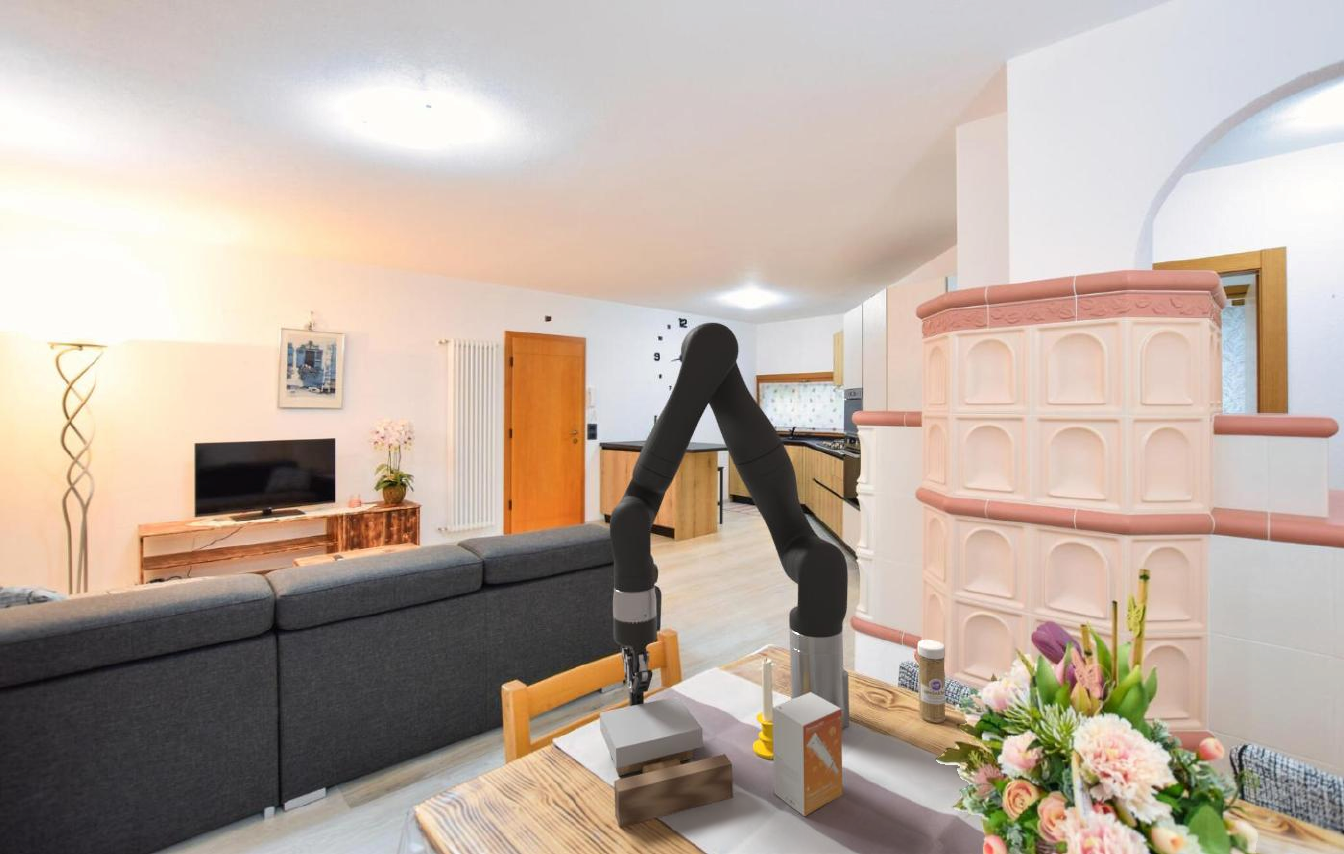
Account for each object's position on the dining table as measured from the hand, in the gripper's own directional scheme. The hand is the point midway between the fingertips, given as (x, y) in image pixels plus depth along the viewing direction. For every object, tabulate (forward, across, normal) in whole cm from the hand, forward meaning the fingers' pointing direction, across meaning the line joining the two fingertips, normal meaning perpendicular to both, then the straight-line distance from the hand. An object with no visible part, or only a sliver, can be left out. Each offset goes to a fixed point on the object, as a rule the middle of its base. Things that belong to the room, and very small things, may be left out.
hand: (636, 709), depth 101 cm
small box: (+4, -24, -20) cm, 31 cm away
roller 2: (+4, -14, 0) cm, 15 cm away
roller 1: (+4, -9, 0) cm, 10 cm away
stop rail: (+4, -19, -1) cm, 20 cm away
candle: (+4, -12, -20) cm, 23 cm away
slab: (+1, -7, 0) cm, 7 cm away
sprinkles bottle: (+4, -13, -52) cm, 53 cm away
